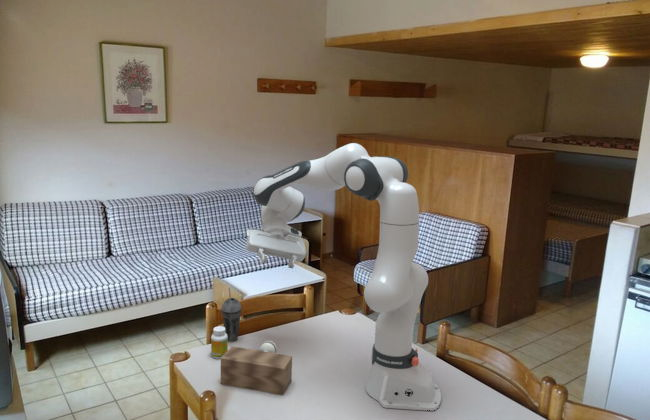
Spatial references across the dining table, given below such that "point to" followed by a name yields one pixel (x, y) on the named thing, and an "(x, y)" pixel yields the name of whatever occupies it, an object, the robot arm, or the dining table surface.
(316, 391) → the dining table surface
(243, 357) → the block
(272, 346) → the knob
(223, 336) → the supplement bottle
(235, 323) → the beverage cup
